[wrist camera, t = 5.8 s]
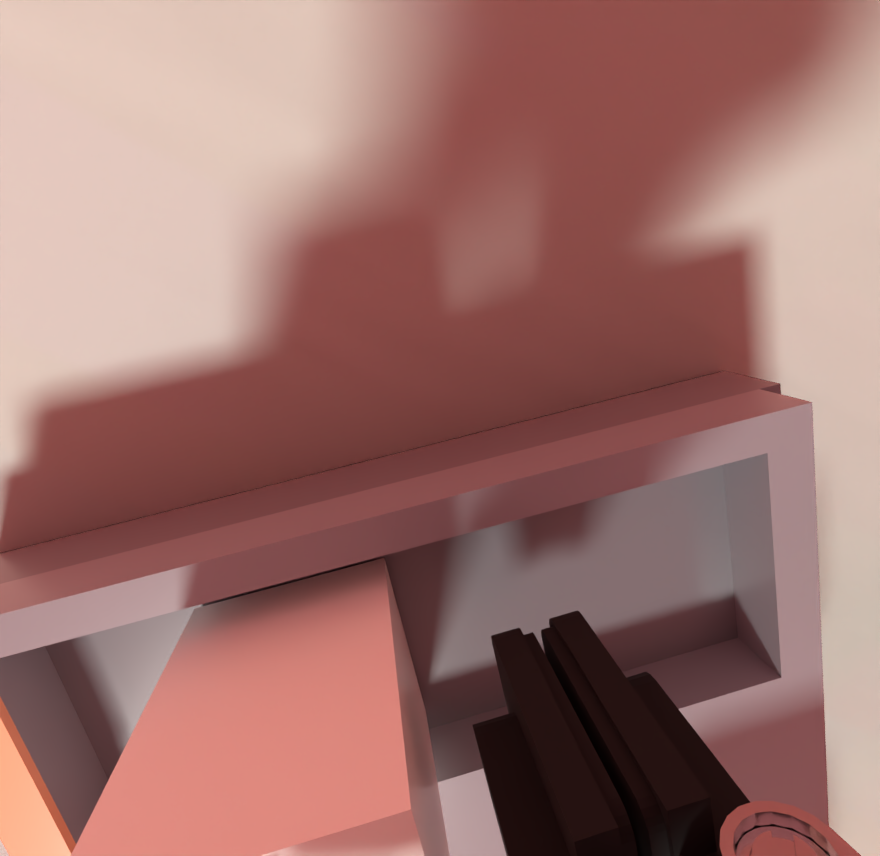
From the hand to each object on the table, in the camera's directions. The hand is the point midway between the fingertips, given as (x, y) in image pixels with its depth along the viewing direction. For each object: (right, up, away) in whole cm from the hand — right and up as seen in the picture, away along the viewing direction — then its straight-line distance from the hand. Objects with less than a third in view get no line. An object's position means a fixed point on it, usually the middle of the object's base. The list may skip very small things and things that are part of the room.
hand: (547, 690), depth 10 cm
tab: (-5, 0, +2) cm, 5 cm away
